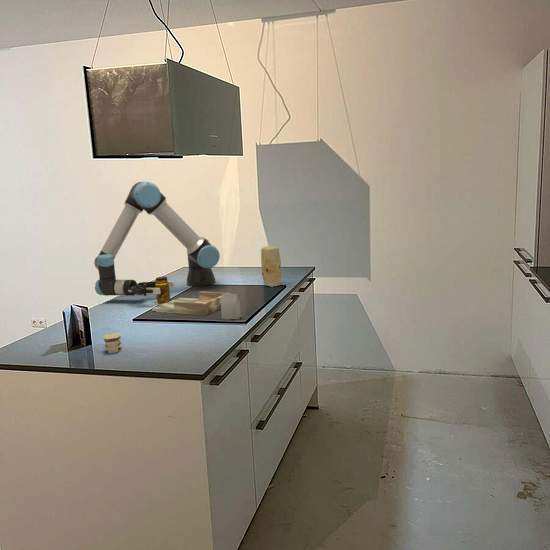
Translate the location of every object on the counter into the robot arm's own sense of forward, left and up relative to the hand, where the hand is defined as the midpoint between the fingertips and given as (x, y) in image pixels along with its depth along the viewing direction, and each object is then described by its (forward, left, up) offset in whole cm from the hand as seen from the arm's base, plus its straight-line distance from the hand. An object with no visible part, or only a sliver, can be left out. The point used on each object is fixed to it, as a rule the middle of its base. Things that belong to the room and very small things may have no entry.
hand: (167, 287), depth 273 cm
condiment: (0, -2, -7) cm, 8 cm away
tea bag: (+17, +45, -7) cm, 48 cm away
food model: (-42, +33, -7) cm, 54 cm away
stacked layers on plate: (+65, +26, -8) cm, 70 cm away
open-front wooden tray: (+6, +18, -7) cm, 20 cm away
